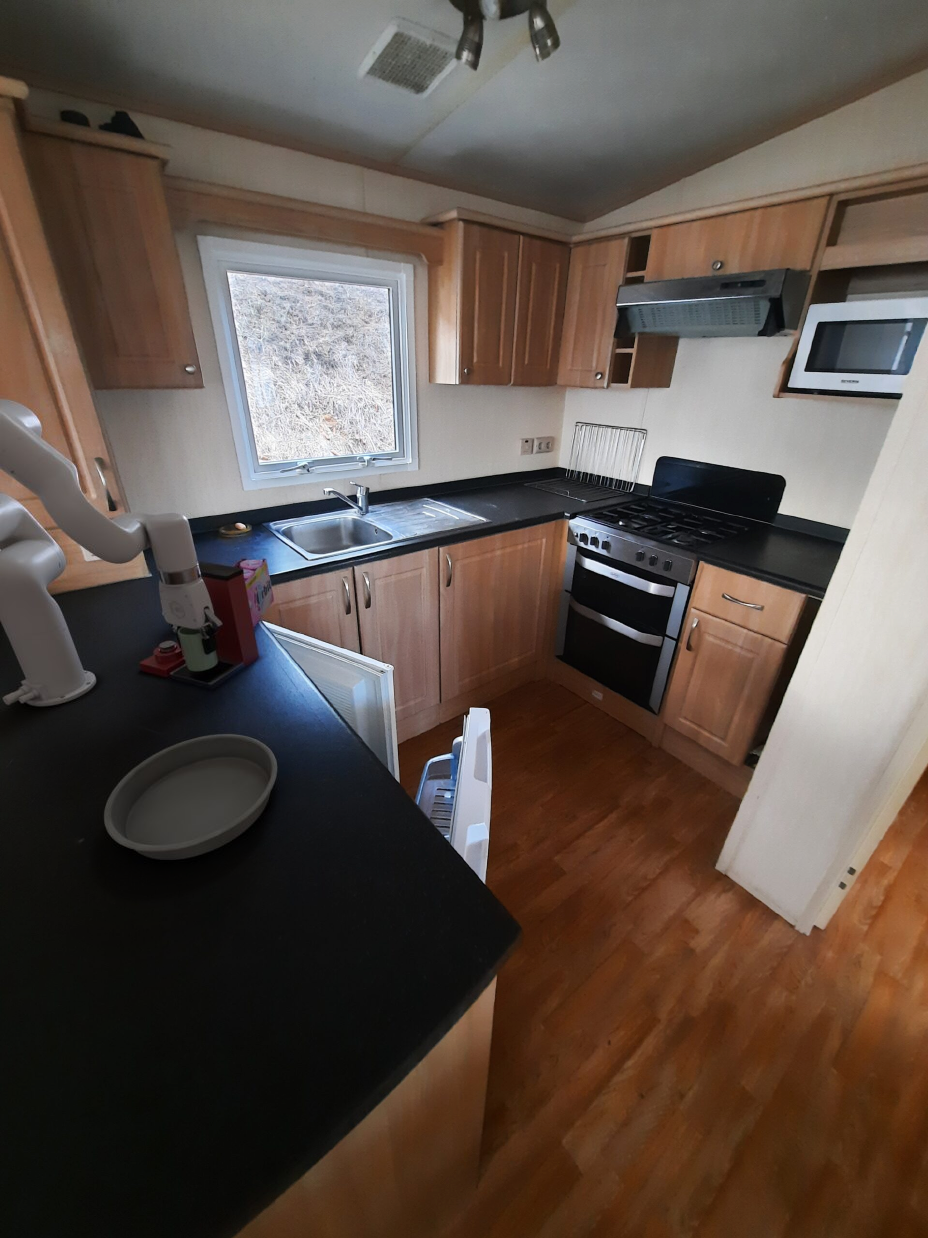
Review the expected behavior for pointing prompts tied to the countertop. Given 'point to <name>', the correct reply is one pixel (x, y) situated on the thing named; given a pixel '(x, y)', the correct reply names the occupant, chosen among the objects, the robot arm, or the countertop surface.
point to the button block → (163, 662)
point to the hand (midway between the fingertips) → (198, 648)
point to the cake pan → (192, 796)
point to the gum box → (257, 586)
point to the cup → (195, 650)
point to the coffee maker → (225, 626)
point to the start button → (167, 647)
